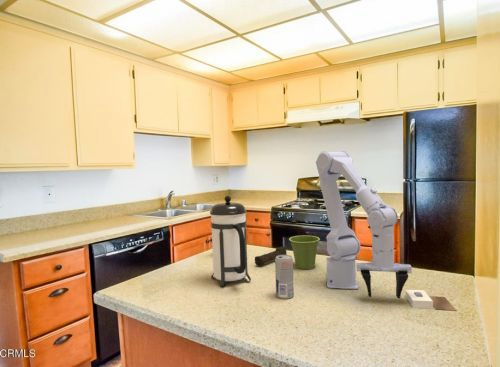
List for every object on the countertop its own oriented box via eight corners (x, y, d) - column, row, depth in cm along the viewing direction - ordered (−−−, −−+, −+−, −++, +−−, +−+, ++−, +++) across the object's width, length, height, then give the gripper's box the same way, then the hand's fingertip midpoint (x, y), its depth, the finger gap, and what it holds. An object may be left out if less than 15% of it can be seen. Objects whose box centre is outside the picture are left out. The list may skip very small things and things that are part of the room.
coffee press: (199, 285, 110) (195, 197, 109) (223, 271, 125) (220, 194, 123) (245, 292, 103) (241, 198, 101) (264, 276, 117) (262, 194, 116)
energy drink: (283, 291, 103) (282, 253, 102) (297, 295, 99) (296, 256, 98) (272, 296, 99) (271, 257, 99) (286, 300, 95) (285, 260, 95)
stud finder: (412, 309, 88) (412, 298, 88) (405, 297, 96) (405, 288, 95) (433, 310, 87) (433, 299, 87) (423, 298, 95) (423, 288, 94)
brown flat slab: (435, 309, 86) (435, 308, 86) (425, 296, 95) (425, 295, 95) (456, 310, 85) (456, 310, 85) (444, 297, 94) (444, 296, 94)
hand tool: (261, 266, 127) (260, 255, 127) (254, 265, 130) (253, 253, 130) (291, 256, 141) (290, 246, 141) (284, 255, 144) (283, 245, 144)
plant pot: (284, 265, 130) (283, 237, 130) (308, 261, 135) (308, 234, 135) (300, 273, 119) (300, 243, 119) (326, 268, 124) (326, 239, 124)
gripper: (357, 252, 90) (358, 300, 91) (414, 253, 87) (414, 303, 88) (355, 246, 97) (356, 290, 98) (408, 247, 94) (408, 293, 94)
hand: (383, 296), depth 93 cm, fingers open, 7 cm apart
